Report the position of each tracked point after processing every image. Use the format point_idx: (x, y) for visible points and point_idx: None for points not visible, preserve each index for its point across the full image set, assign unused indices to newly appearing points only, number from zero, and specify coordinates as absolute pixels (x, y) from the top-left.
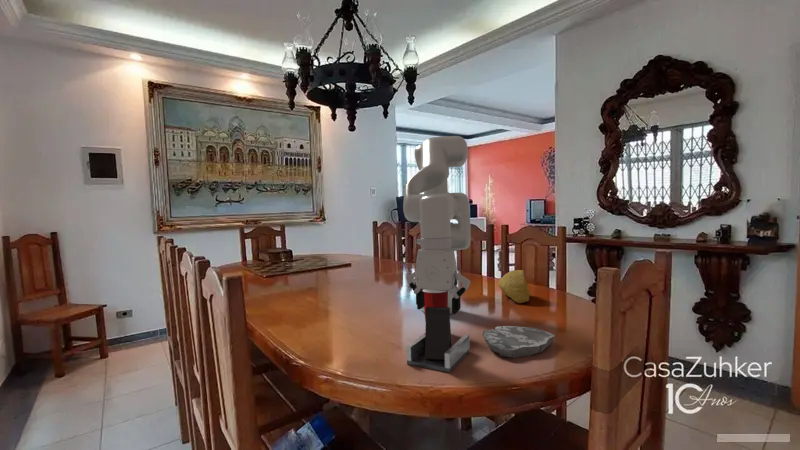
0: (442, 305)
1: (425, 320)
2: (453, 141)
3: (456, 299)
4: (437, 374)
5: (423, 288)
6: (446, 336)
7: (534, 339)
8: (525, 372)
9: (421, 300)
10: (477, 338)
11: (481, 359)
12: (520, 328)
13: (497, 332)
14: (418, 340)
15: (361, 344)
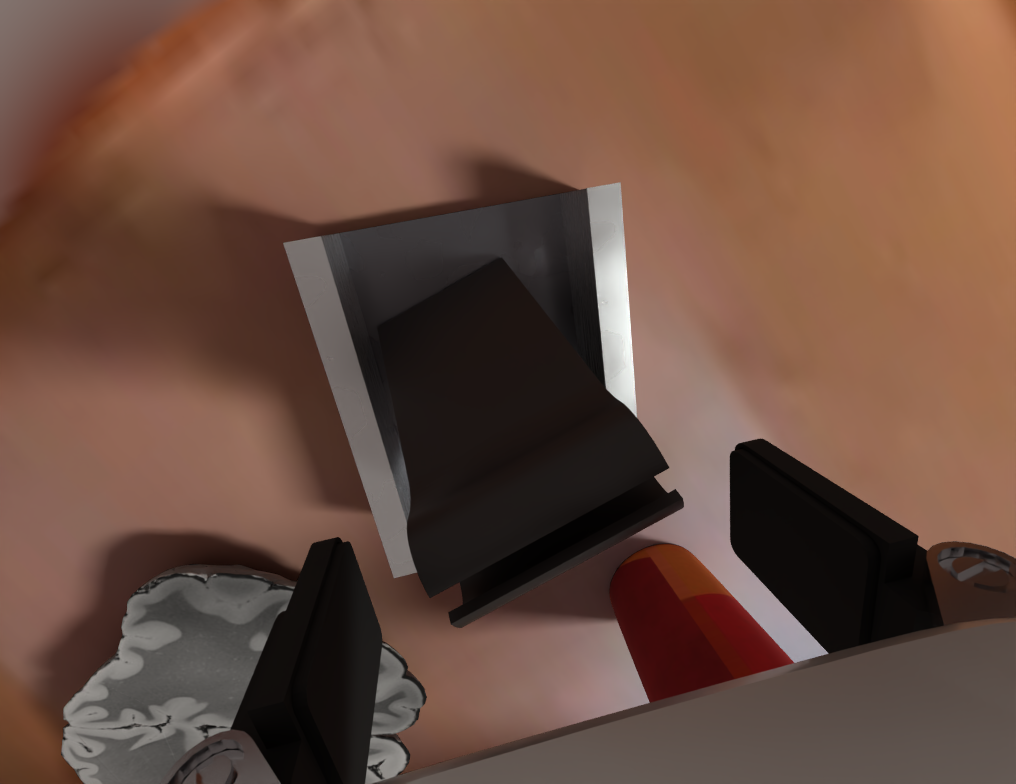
0: None
1: (738, 602)
2: None
3: (253, 727)
4: (357, 177)
5: (909, 636)
6: (410, 398)
7: (144, 754)
8: (5, 479)
9: (791, 539)
10: (462, 649)
11: (292, 476)
12: None
13: None
14: (609, 328)
15: (929, 265)
